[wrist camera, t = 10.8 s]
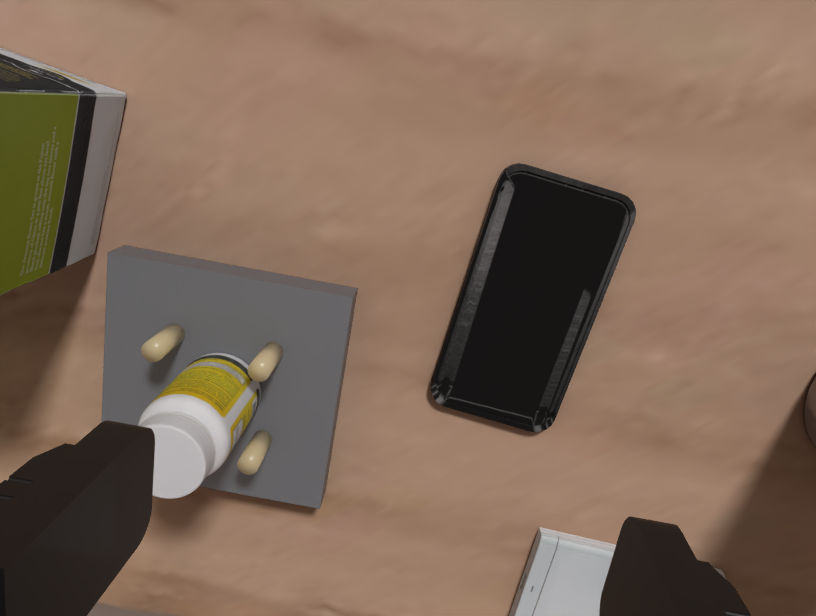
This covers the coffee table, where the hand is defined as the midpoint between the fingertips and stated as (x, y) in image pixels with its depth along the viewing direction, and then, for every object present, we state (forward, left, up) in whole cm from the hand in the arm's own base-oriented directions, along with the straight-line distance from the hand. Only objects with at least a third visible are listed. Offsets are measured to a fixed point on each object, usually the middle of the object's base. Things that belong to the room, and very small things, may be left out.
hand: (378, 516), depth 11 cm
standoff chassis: (+10, +11, -27) cm, 31 cm away
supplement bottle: (+10, +11, -25) cm, 29 cm away
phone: (-7, +3, -28) cm, 29 cm away
